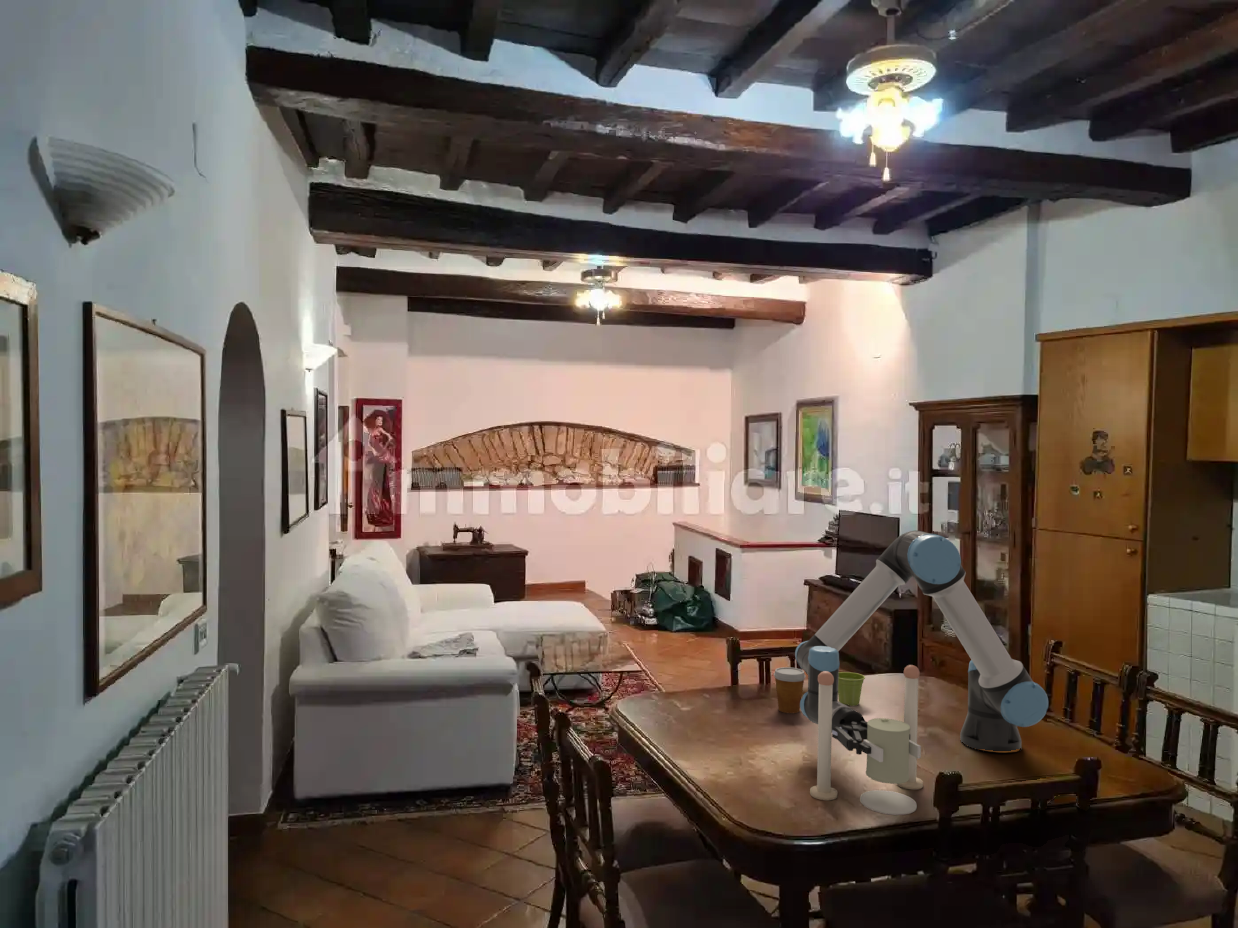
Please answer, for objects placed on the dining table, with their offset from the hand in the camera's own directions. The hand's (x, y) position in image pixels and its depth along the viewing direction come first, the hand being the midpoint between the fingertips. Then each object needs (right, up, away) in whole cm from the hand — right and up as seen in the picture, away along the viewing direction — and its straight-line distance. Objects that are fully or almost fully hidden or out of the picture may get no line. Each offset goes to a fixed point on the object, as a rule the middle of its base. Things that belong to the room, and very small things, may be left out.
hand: (900, 753), depth 185 cm
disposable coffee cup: (-10, -12, +72) cm, 74 cm away
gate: (-4, -13, +12) cm, 18 cm away
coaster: (-1, -13, +5) cm, 13 cm away
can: (-2, -7, +4) cm, 8 cm away
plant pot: (+11, -12, +81) cm, 82 cm away
